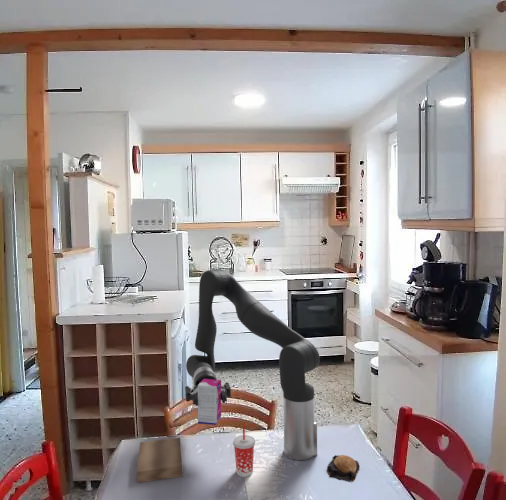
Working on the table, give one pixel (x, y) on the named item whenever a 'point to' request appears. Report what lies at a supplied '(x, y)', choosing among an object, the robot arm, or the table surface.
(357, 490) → the table surface
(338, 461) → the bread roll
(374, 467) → the table surface
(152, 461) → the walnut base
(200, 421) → the supplement box
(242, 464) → the beverage cup
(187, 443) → the table surface
